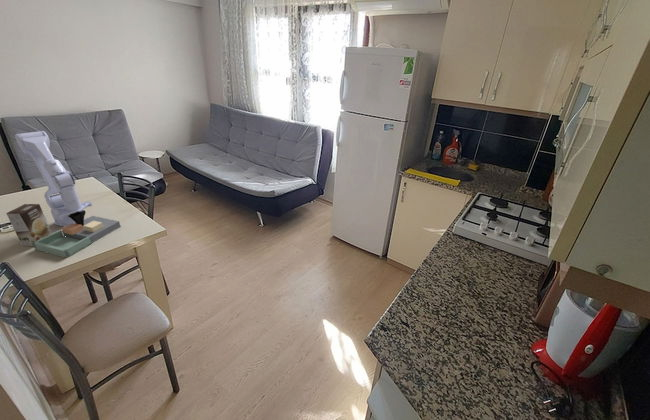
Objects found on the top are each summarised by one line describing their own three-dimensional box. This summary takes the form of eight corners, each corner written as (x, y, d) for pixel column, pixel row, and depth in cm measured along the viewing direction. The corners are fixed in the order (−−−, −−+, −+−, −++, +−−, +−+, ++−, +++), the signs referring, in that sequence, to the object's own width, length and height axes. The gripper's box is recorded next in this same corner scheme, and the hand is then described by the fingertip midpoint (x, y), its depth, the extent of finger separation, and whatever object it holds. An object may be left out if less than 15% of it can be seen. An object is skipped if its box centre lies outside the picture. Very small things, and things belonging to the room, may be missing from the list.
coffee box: (37, 246, 127) (22, 213, 119) (21, 246, 126) (5, 213, 119) (53, 234, 135) (39, 203, 127) (38, 234, 134) (23, 203, 127)
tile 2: (84, 230, 134) (83, 225, 133) (95, 225, 139) (93, 220, 137) (93, 232, 133) (92, 227, 132) (103, 227, 138) (102, 222, 136)
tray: (35, 249, 125) (32, 243, 123) (62, 236, 134) (59, 230, 132) (67, 257, 121) (64, 250, 120) (91, 243, 131) (89, 237, 129)
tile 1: (63, 232, 132) (61, 228, 130) (74, 227, 136) (72, 222, 135) (72, 234, 131) (70, 230, 129) (83, 229, 135) (81, 224, 134)
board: (64, 236, 134) (61, 230, 133) (94, 220, 147) (92, 215, 146) (92, 242, 131) (90, 237, 130) (120, 226, 144) (119, 221, 143)
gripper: (61, 208, 123) (72, 235, 129) (93, 194, 135) (102, 219, 142) (48, 205, 124) (59, 232, 130) (81, 192, 137) (90, 217, 143)
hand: (80, 225), depth 136 cm, fingers closed
